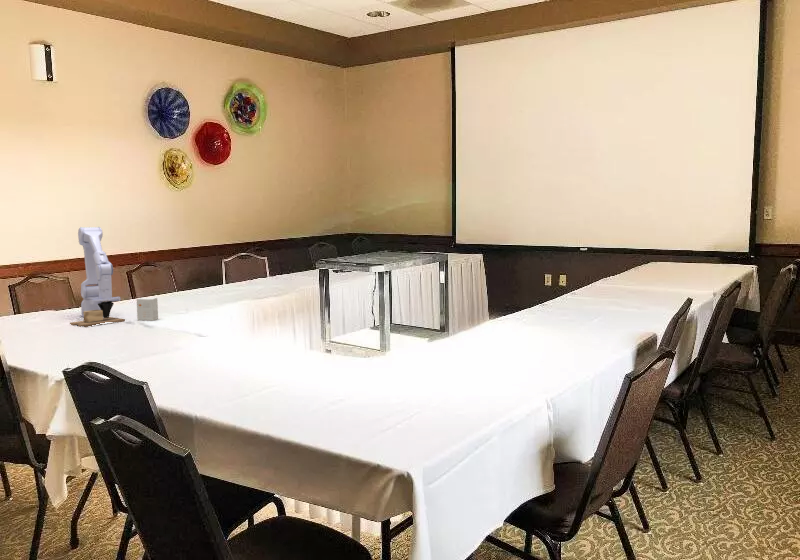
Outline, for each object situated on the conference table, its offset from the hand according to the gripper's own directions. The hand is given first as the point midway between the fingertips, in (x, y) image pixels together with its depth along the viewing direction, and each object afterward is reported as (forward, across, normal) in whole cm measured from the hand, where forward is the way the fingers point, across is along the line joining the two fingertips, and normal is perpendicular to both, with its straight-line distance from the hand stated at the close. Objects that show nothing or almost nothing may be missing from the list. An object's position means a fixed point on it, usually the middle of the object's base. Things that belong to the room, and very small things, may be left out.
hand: (106, 317), depth 309 cm
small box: (+2, +15, -11) cm, 18 cm away
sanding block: (+1, -7, 0) cm, 7 cm away
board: (+2, -4, 0) cm, 5 cm away
